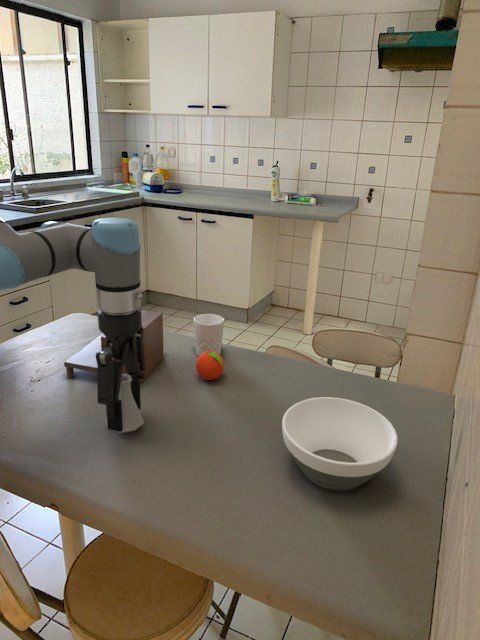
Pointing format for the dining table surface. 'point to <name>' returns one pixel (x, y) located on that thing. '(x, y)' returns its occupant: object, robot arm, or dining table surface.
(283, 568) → the dining table surface
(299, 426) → the bowl
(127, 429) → the flask
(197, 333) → the white cup
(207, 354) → the clementine
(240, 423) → the dining table surface
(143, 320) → the shelf
